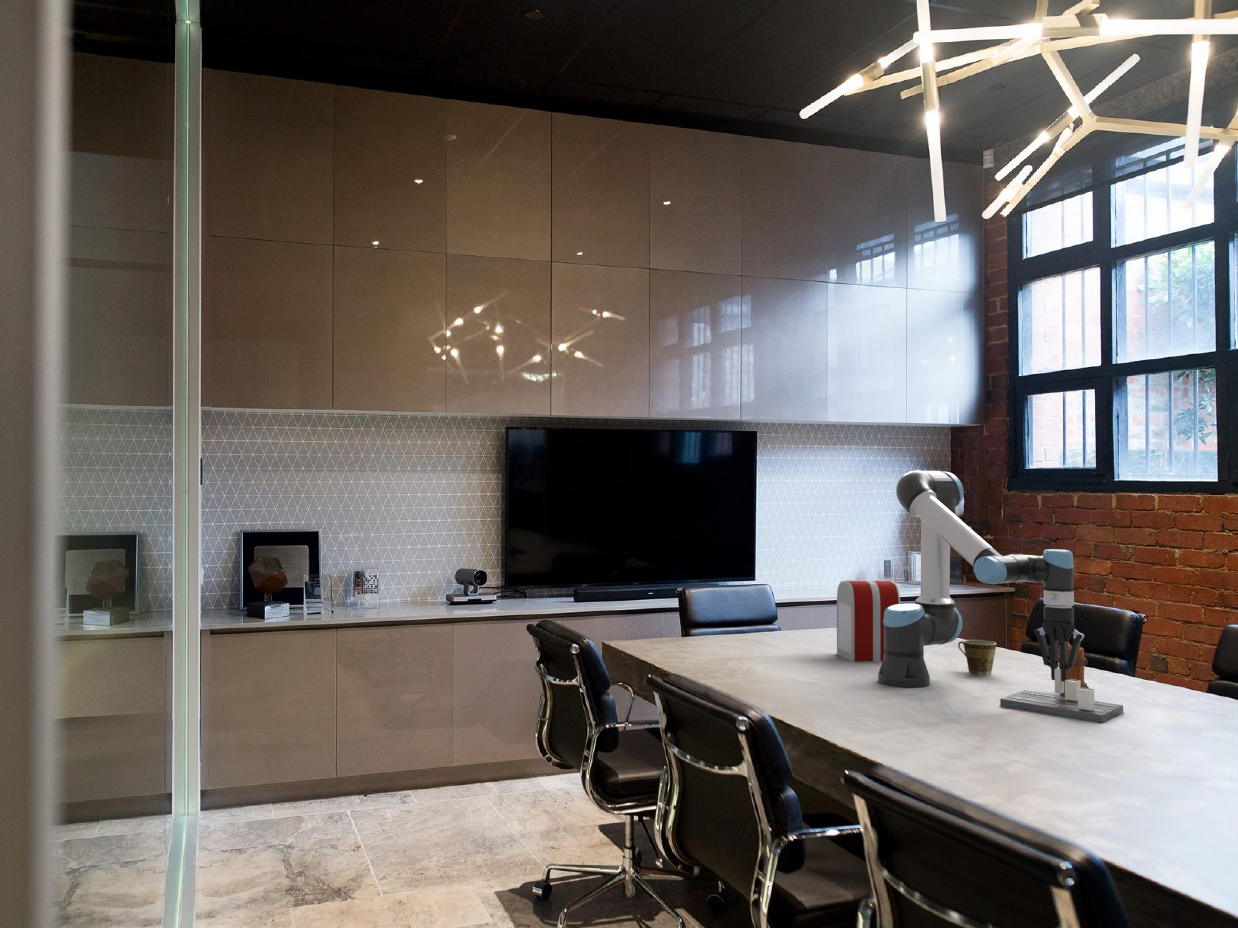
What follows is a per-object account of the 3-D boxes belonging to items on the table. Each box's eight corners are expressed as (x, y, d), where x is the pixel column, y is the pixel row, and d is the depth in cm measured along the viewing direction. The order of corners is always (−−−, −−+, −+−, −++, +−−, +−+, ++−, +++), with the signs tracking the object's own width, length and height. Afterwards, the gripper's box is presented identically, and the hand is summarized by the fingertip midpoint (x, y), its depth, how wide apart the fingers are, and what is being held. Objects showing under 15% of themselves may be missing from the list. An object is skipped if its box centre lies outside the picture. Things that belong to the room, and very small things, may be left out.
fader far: (1065, 699, 257) (1064, 679, 257) (1069, 697, 259) (1069, 678, 259) (1076, 700, 255) (1076, 681, 255) (1080, 699, 257) (1080, 679, 257)
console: (1000, 705, 258) (1000, 697, 258) (1024, 697, 269) (1024, 689, 269) (1102, 722, 240) (1102, 713, 240) (1123, 712, 251) (1123, 704, 251)
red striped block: (835, 653, 341) (835, 578, 342) (883, 652, 343) (883, 577, 344) (852, 661, 325) (852, 582, 325) (901, 661, 327) (901, 582, 327)
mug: (1092, 701, 264) (1091, 647, 265) (1060, 700, 266) (1060, 646, 266) (1077, 690, 279) (1077, 639, 279) (1048, 689, 280) (1047, 638, 281)
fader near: (1078, 708, 246) (1077, 688, 246) (1082, 706, 248) (1082, 686, 248) (1090, 710, 244) (1090, 689, 244) (1094, 708, 246) (1094, 688, 246)
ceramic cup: (1003, 674, 304) (1002, 642, 304) (984, 677, 298) (983, 645, 298) (967, 667, 314) (967, 637, 315) (948, 670, 309) (948, 640, 309)
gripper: (1029, 605, 262) (1029, 691, 261) (1078, 609, 253) (1079, 698, 252) (1039, 602, 267) (1040, 687, 266) (1088, 607, 258) (1089, 694, 257)
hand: (1059, 692), depth 259 cm, fingers closed
